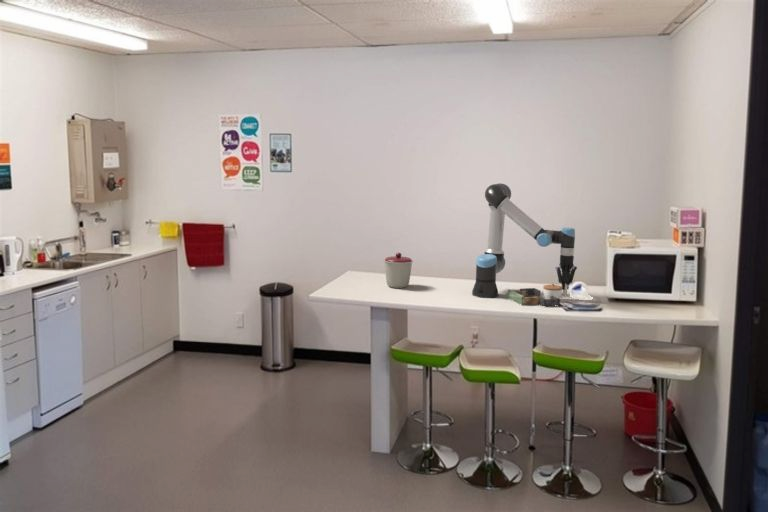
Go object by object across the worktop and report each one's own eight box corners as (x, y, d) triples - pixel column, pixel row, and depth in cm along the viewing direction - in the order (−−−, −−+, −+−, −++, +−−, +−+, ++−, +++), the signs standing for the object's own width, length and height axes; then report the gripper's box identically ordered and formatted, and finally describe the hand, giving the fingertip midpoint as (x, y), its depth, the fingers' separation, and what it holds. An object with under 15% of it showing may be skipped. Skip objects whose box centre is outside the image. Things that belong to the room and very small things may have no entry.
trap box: (526, 307, 366) (527, 298, 365) (503, 296, 393) (503, 287, 393) (559, 306, 371) (559, 297, 370) (534, 294, 399) (534, 286, 398)
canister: (382, 283, 422) (383, 250, 419) (411, 283, 423) (412, 250, 419) (383, 289, 404) (384, 254, 401) (413, 289, 405) (414, 255, 401)
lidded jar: (562, 302, 380) (563, 286, 378) (542, 301, 382) (543, 285, 380) (561, 298, 390) (562, 282, 388) (542, 297, 392) (543, 281, 391)
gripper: (560, 256, 379) (558, 297, 382) (580, 255, 382) (578, 295, 386) (553, 254, 386) (551, 294, 390) (573, 253, 389) (571, 293, 393)
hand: (564, 295), depth 388 cm, fingers closed
